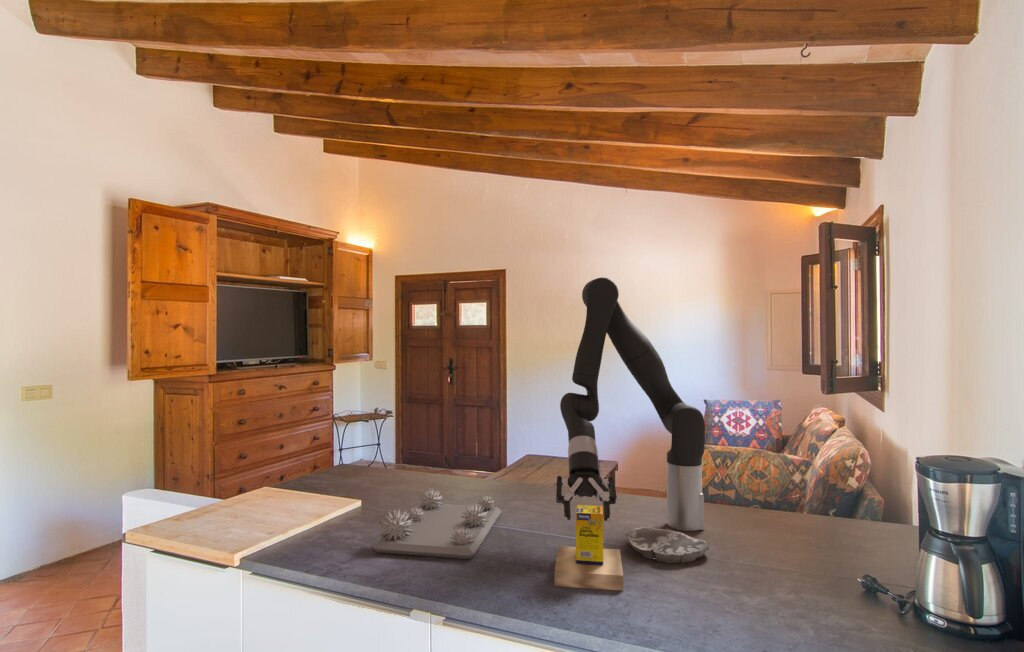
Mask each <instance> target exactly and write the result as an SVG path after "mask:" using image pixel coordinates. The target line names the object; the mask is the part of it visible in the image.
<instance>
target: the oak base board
mask: <svg viewBox="0 0 1024 652" xmlns="http://www.w3.org/2000/svg"><path fill="white" fill-rule="evenodd" d="M556 554H557V555H556V559H555V566H554V587H565V588H567V587H568V588H576V589H577V588H578V589H579V588H580V589H595V590H609V591H622V592H623V591H624V571H623V564H622V556H621V550H620V549H616V548H603V565H591V564H576V546H563V545H558V548H557V553H556Z"/></svg>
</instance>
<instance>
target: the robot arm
mask: <svg viewBox="0 0 1024 652" xmlns="http://www.w3.org/2000/svg"><path fill="white" fill-rule="evenodd" d="M619 292H620V291H619V288H618V285H617V284H616V283H615V281H613V280H612V279H610V278H609V277H597V278H595V279H592V280H589V281H588V282H586V284H585V285H584V287H583V289H582V292H581V297H582V302H583V304H584V305H585V307H586V315H585V323H584V328H583V333H582V336H581V339H580V341H579V345H578V348H577V352H576V355H575V359H574V365H573V370H572V371H573V372H572V378H571V381H572V382H573V383H574V384H575V385H578V386H580V387H583V388H585V390H586V394H580V393H575V392H567V393H565V394H564V395H563V396H562V397H561V400H560V404H559V405H560V406H559V408H560V413H561V416H562V419H563V421H564V424H565V427H566V430H567V435H568V448H567V460H568V478H567V477H564V478H563V477H562V476H561V475H557V477H556V490H555V491H556V494H555V496H556V498H555V502H556V503H557V504H562V505H563V515H564V518H566V519H567V520H566V521H571V519H572V518H571V515H572V514H571V513H572V512H571V502H572V501H573V500H574V499H575V498H576V497H577V496H578V498H579V497H580V498H582V497H583V498H584V497H587V498H592V497H593V496H594V498H596V500H597V501H599V502H600V503H601V504H602V506H603V522H604V521H608V520H609V519H610V516H611V509H610V508H611V507H610V506H611V505H615V504H616V502H617V491H616V486H615V481H614V479H615V478H614V477H613V476H609V477H608V478H602V477H601V474H600V465H599V464H600V463H599V453H598V447H597V441H596V432H595V426H594V424H593V423H592V422H593V421H594V420H596V418H598V415H599V412H600V403H599V394H598V382H599V381H598V380H599V375H600V370H601V364H602V359H603V358H602V357H603V352H604V347H605V341H606V337H607V335H608V338H609V340H610V341H611V343H612V346H614V349H615V350H616V352H617V353H618V355H619V357H620V358H621V361H622V362H623V363H624V365H625V366H626V368H627V370H628V371H629V373H630V374H631V375H632V377H633V378H634V379H635V381H636V383H637V384H638V385H639V386H640V388H641V389H642V391H643V392H644V393H645V394H646V396H647V397H648V398H649V400H650V402H651V404H652V405H653V407H654V409H655V411H656V413H657V415H658V417H659V419H660V421H661V423H662V425H663V427H664V429H665V430H667V432H668V433H669V434H670V435H671V445H670V449H669V450H668V451H667V452H666V508H667V509H666V513H667V514H666V518H667V519H666V520H667V521H666V523H667V526H668V527H670V528H672V529H674V530H678V531H684V532H696V531H700V530H701V531H704V530H705V495H704V492H703V475H702V474H703V470H702V469H703V465H702V464H703V457H704V454H705V443H706V442H705V441H706V422H705V418H704V415H703V414H702V412H701V410H699V409H698V408H697V407H694V406H691V405H690V404H689V405H688V404H686V402H684V401H683V400H682V398H681V397H680V396H679V395H678V393H677V392H676V390H675V389H674V388H673V386H672V384H671V382H670V380H669V376H668V373H667V371H666V367H665V364H664V362H663V360H662V358H661V356H660V355H659V352H658V351H657V350H656V348H655V346H654V345H653V344H652V342H651V341H650V340H649V338H648V337H647V336H646V335H645V333H643V332H642V331H641V330H640V328H639V327H638V326H637V325H635V323H634V322H632V320H631V319H630V318H629V317H628V315H627V314H626V313H625V311H624V310H623V308H622V307H621V304H620V303H619V301H618V300H619V295H620V293H619ZM566 485H568V487H569V490H568V492H567V493H566V494H565V495H562V493H563V492H562V490H563V489H562V488H565V487H566ZM603 485H604V487H605V488H606V489H608V493H609V496H608V495H607V494H606V493H605V492H604V490H603V489H602V486H603Z"/></svg>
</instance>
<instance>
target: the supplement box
mask: <svg viewBox="0 0 1024 652" xmlns="http://www.w3.org/2000/svg"><path fill="white" fill-rule="evenodd" d="M575 547H576V564H591V565H603V549H604V515H603V505H585V504H577V505H576V511H575Z"/></svg>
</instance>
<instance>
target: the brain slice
mask: <svg viewBox="0 0 1024 652" xmlns="http://www.w3.org/2000/svg"><path fill="white" fill-rule="evenodd" d="M625 535H626V539H627V541H628V542H629V545H630V546H631V547H632V549H634V550H635V551H636V552H637V553H639V554H640V555H642V557H644V556H645V557H644V558H646V557H648V558H647V559H650V560H654V559H653V558H656V559H655V560H656V561H657V560H658V561H657V562H659V561H660V563H664V562H671V563H670V564H677V562H678V563H681V562H686V563H691V561H692V562H694V561H696V559H699V557H700V558H703V556H704V554H705V553H706V552H707V551H708V550H709V549H710V545H711V544H710V543H709V542H708V541H706V540H702V539H699V538H695V537H691V536H690V535H687V534H685V533H683V532H681V531H675V530H672V529H664V528H653V527H648V526H637V527H635V528H632V529H630V530H629V531H627V532H626V533H625Z"/></svg>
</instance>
